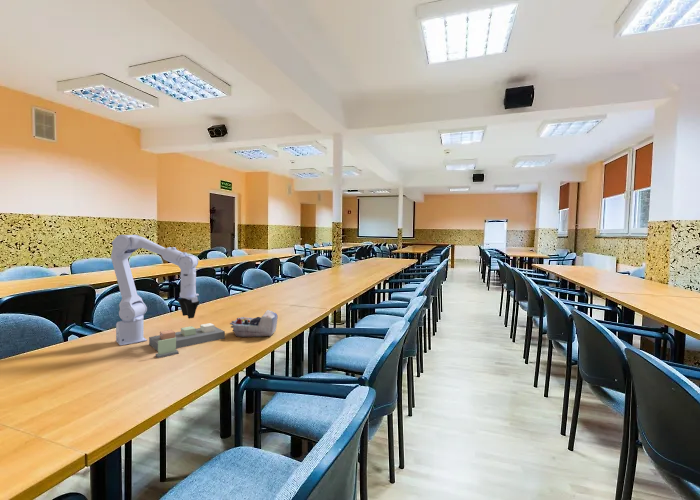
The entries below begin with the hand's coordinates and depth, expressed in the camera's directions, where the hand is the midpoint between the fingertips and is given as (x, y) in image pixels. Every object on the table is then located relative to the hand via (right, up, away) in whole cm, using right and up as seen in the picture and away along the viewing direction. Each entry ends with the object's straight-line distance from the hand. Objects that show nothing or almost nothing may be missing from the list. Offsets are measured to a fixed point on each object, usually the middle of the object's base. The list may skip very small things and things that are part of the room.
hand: (188, 316), depth 142 cm
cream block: (+5, -9, +6) cm, 12 cm away
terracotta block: (-6, -9, -5) cm, 12 cm away
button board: (0, -10, +1) cm, 10 cm away
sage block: (0, -9, 0) cm, 9 cm away
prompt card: (-1, -11, -15) cm, 19 cm away
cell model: (+24, -11, +12) cm, 29 cm away
